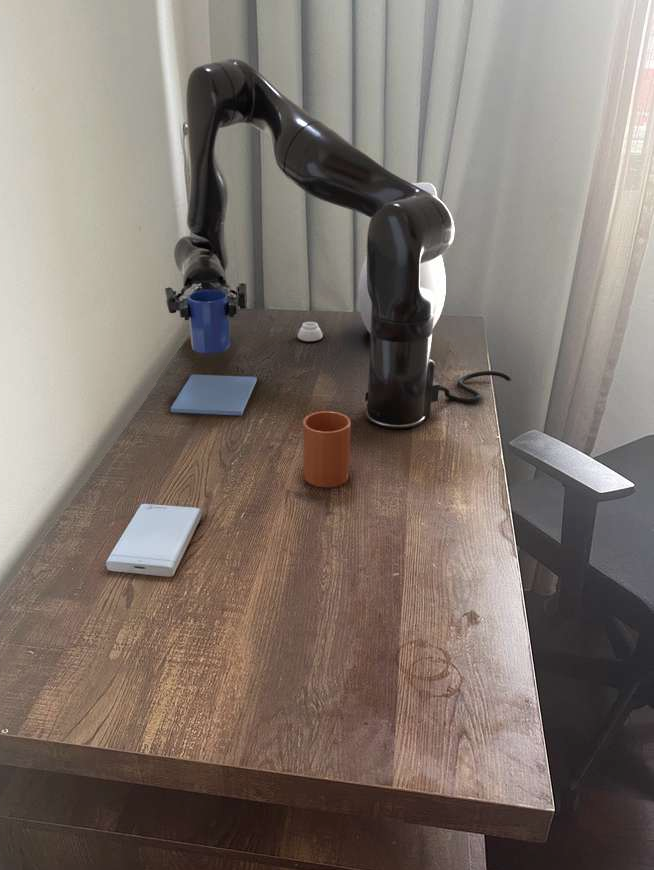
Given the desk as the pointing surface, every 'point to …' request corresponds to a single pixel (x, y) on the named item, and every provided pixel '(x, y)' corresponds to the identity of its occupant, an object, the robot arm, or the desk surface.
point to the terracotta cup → (326, 448)
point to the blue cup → (209, 321)
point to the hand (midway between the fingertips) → (209, 312)
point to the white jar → (310, 332)
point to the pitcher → (429, 279)
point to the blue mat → (214, 395)
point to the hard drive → (155, 540)
